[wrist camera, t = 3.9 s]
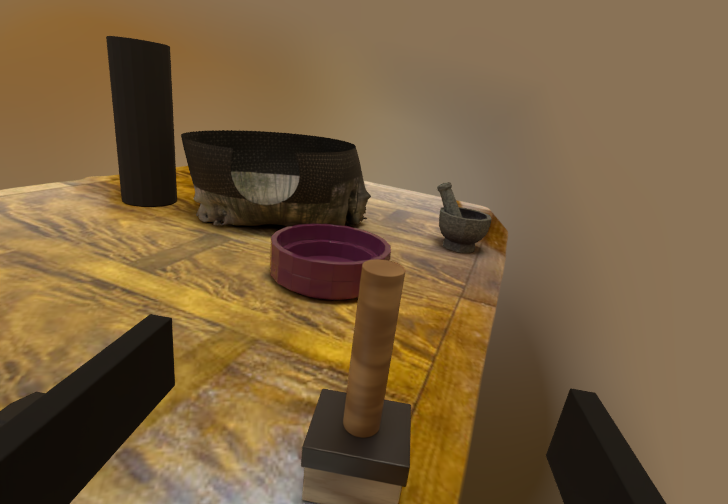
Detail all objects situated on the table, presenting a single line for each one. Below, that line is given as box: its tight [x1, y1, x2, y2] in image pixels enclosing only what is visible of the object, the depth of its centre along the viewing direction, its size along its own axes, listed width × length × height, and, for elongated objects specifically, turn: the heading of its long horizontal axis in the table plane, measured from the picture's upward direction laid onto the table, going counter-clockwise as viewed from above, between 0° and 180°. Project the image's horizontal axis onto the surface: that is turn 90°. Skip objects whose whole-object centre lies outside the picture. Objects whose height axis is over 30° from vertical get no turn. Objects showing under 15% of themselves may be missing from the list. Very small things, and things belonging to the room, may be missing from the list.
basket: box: [181, 130, 371, 227], centre depth 80 cm, size 28×35×16 cm
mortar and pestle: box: [437, 182, 491, 253], centre depth 77 cm, size 11×9×12 cm
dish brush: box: [301, 259, 411, 504], centre depth 25 cm, size 6×5×16 cm
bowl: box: [270, 224, 391, 300], centre depth 57 cm, size 17×17×6 cm
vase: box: [106, 36, 177, 207], centre depth 79 cm, size 10×10×30 cm
